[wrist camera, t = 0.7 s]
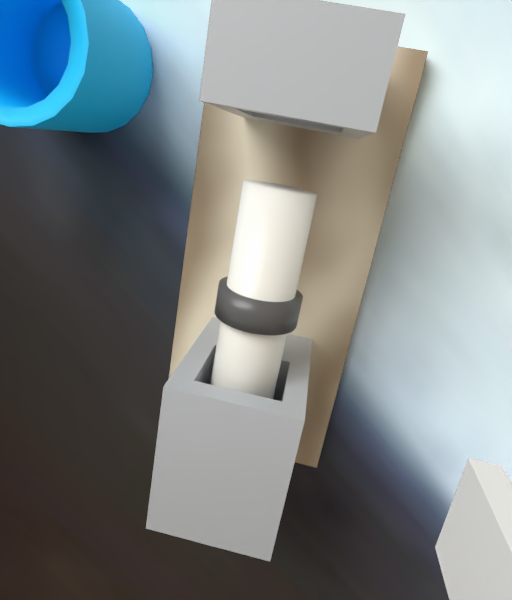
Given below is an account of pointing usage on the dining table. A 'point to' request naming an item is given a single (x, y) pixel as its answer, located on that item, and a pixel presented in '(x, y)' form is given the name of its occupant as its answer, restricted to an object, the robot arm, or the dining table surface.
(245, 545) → the sleeve
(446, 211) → the dining table surface
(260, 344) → the tube
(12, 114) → the mug
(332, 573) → the dining table surface
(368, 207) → the mount board
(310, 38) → the socket
